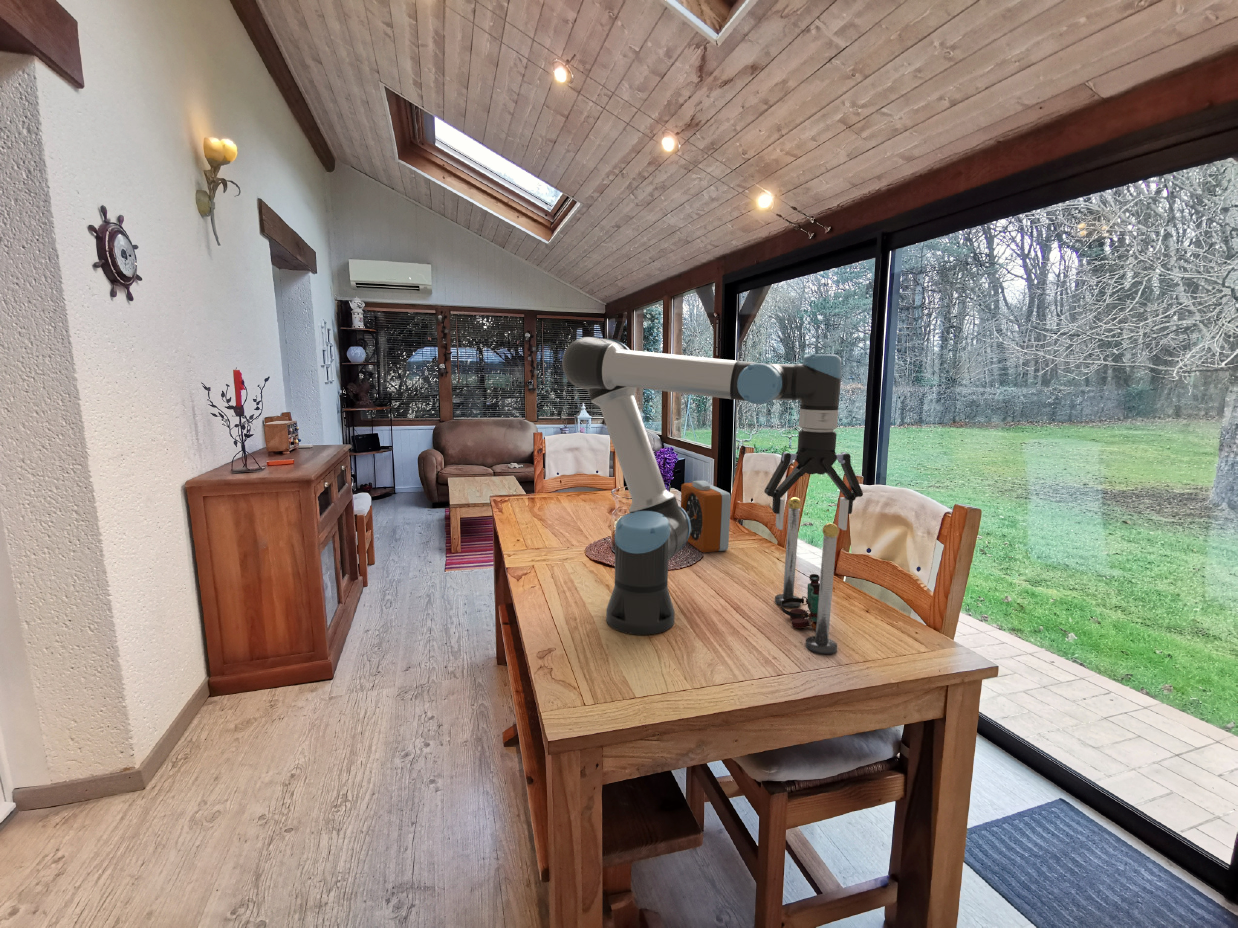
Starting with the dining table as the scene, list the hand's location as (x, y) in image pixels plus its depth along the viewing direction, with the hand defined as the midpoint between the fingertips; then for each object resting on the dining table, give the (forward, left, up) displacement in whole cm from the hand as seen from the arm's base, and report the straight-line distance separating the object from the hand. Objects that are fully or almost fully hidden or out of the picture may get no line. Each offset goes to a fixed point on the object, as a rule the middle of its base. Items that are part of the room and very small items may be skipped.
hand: (810, 528), depth 121 cm
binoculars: (0, 0, -22) cm, 22 cm away
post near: (0, -11, -22) cm, 24 cm away
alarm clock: (-13, +56, -22) cm, 62 cm away
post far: (0, +11, -22) cm, 24 cm away
